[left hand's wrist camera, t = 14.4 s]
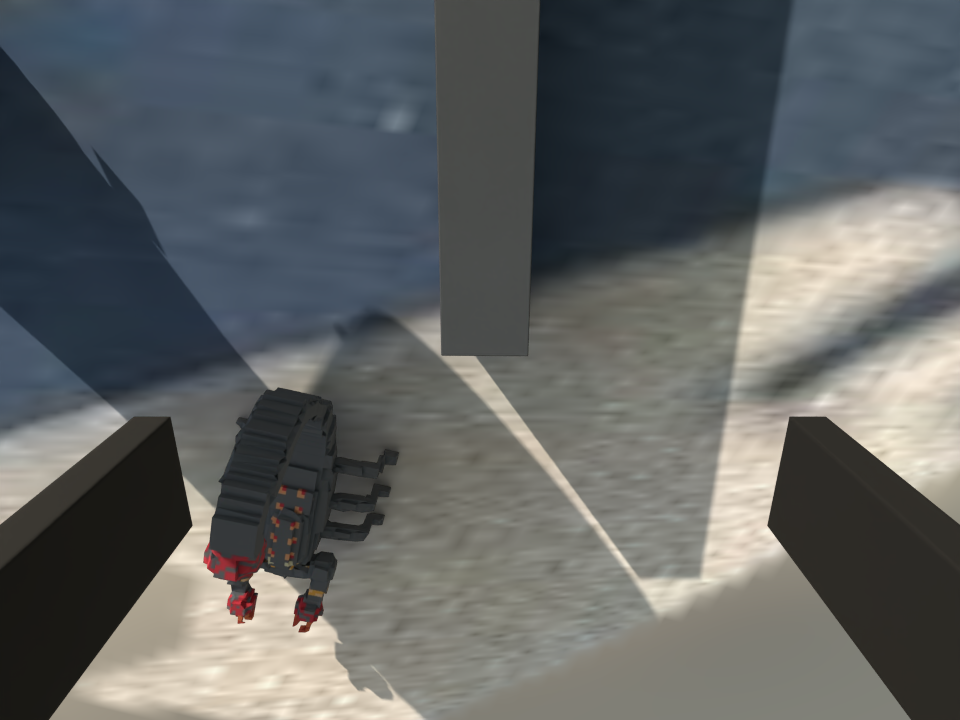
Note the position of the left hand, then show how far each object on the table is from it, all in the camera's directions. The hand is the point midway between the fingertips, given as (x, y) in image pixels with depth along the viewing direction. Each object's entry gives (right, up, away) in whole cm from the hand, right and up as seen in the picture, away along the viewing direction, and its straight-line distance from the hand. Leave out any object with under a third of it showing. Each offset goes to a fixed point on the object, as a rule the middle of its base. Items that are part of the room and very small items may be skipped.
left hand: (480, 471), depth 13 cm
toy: (-15, -8, +38) cm, 42 cm away
